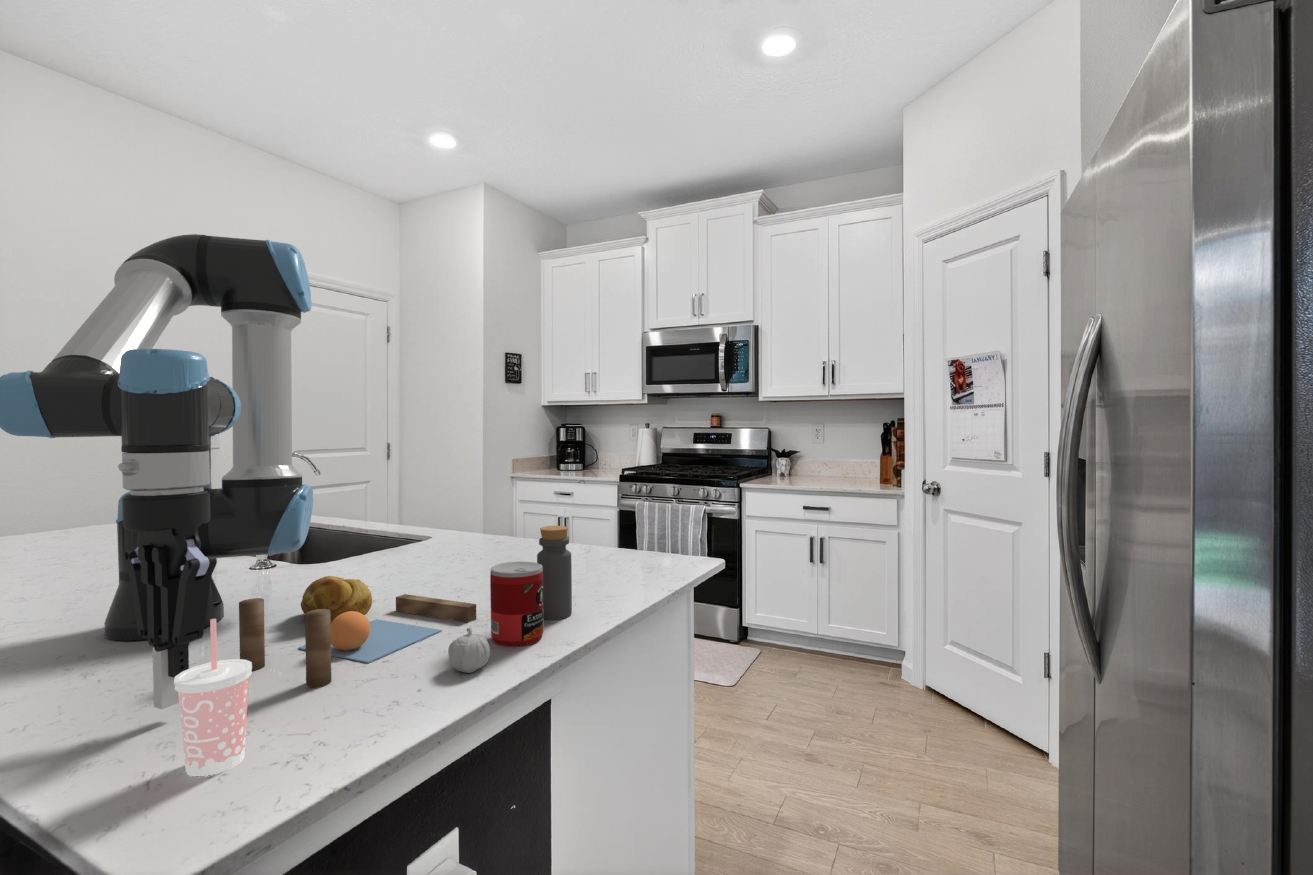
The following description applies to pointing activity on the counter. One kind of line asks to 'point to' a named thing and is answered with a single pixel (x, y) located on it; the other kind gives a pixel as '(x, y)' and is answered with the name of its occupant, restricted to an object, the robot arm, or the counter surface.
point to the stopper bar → (436, 607)
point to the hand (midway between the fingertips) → (171, 702)
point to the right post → (318, 647)
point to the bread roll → (337, 596)
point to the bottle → (556, 572)
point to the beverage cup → (213, 712)
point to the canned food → (516, 603)
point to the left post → (252, 632)
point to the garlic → (469, 652)
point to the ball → (349, 631)
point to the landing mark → (384, 640)
